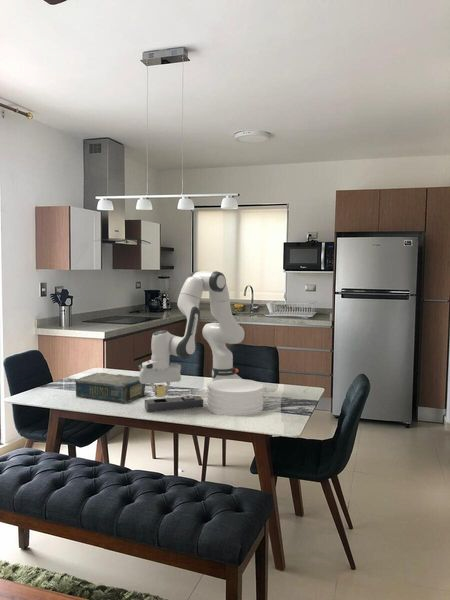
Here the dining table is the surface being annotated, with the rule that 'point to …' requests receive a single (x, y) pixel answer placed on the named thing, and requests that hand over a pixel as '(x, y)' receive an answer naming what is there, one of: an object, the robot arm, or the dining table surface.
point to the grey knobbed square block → (187, 398)
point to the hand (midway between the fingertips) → (160, 391)
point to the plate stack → (235, 397)
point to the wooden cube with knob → (160, 390)
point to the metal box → (109, 387)
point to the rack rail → (172, 404)
